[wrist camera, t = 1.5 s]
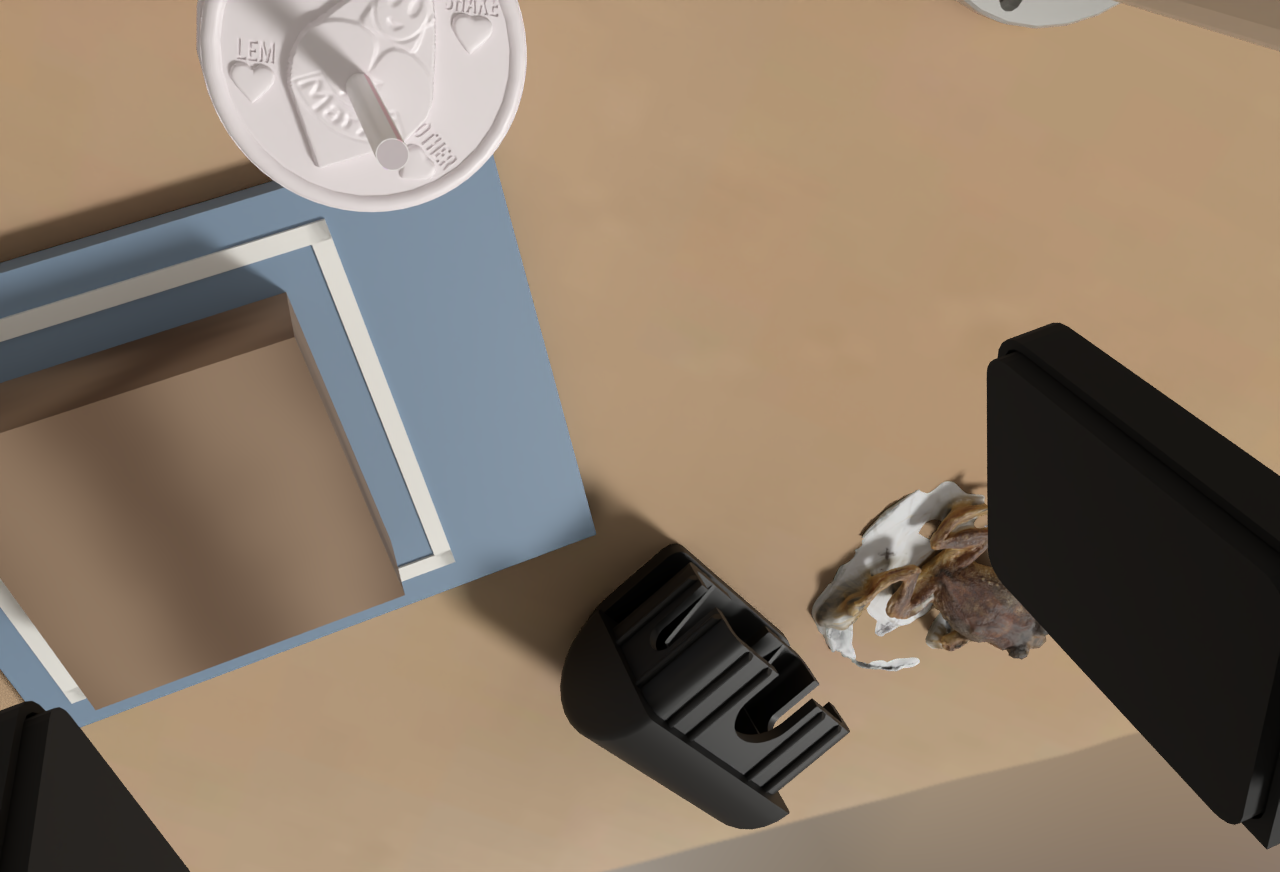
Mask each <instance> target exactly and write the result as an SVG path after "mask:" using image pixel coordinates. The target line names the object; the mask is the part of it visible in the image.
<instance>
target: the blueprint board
mask: <svg viewBox="0 0 1280 872" xmlns="http://www.w3.org/2000/svg"><path fill="white" fill-rule="evenodd" d="M285 292H286V293H287V295H288V298H289V300H290V303H291V305H292V307H293V310H294V312H295V314H296V317H297V319H298V321H299V324H300V326H301V329H302V331H303V333H304V336H305V338H306V340H307V343H308V345H309V348H310V350H311V352H312V355H313V357H314V359H315V362H316V364H317V367H318V369H319V371H320V374H321V376H322V378H323V381H324V383H325V386H326V388H327V390H328V393H329V395H330V397H331V400H332V402H333V404H334V407H335V409H336V412H337V414H338V416H339V419H340V421H341V423H342V426H343V428H344V431H345V433H346V435H347V438H348V440H349V442H350V445H351V447H352V450H353V452H354V454H355V457H356V459H357V461H358V464H359V466H360V469H361V471H362V473H363V476H364V478H365V480H366V483H367V485H368V488H369V490H370V492H371V495H372V497H373V499H374V502H375V504H376V506H377V509H378V511H379V514H380V516H381V518H382V521H383V523H384V525H385V528H386V530H387V533H388V535H389V537H390V540H391V543H392V547H393V550H394V554H395V558H396V562H397V566H398V570H399V574H400V578H401V581H402V585H403V589H404V593H405V595H404V596H402V597H399V598H396V599H393V600H391V601H388V602H385V603H383V604H380V605H377V606H375V607H372V608H369V609H367V610H364V611H361V612H359V613H356V614H353V615H350V616H348V617H345V618H342V619H340V620H337V621H334V622H332V623H329V624H326V625H324V626H321V627H318V628H316V629H313V630H310V631H308V632H305V633H302V634H299V635H297V636H294V637H291V638H289V639H286V640H283V641H281V642H278V643H275V644H273V645H270V646H267V647H265V648H262V649H259V650H256V651H254V652H251V653H248V654H246V655H243V656H240V657H238V658H235V659H232V660H230V661H227V662H224V663H222V664H219V665H216V666H214V667H211V668H208V669H205V670H203V671H200V672H197V673H195V674H192V675H189V676H187V677H184V678H181V679H179V680H176V681H173V682H171V683H168V684H165V685H163V686H160V687H157V688H154V689H152V690H149V691H146V692H144V693H141V694H138V695H136V696H133V697H130V698H128V699H125V700H122V701H120V702H117V703H114V704H111V705H109V706H106V707H103V708H101V709H98V710H95V709H94V707H93V706H92V705H91V703H90V702H89V701H88V699H87V698H86V696H85V695H84V694H83V692H82V691H81V689H80V688H79V687H78V685H77V684H76V683H75V681H74V680H73V678H72V677H71V676H70V674H69V673H68V671H67V670H66V669H65V667H64V666H63V665H62V663H61V662H60V660H59V659H58V658H57V656H56V655H55V653H54V652H53V651H52V649H51V648H50V647H49V645H48V644H47V642H46V641H45V640H44V638H43V637H42V635H41V634H40V633H39V631H38V630H37V629H36V627H35V626H34V624H33V623H32V622H31V620H30V619H29V617H28V616H27V615H26V613H25V612H24V611H23V609H22V608H21V606H20V605H19V604H18V602H17V601H16V599H15V598H14V597H13V595H12V594H11V593H10V591H9V590H8V588H7V587H6V586H5V584H4V583H3V581H2V580H1V579H0V669H1V671H2V672H3V673H4V675H5V676H6V677H7V678H8V680H9V681H10V682H11V684H12V685H13V686H14V688H15V689H16V690H17V691H18V693H19V694H20V695H21V697H22V698H23V699H24V700H25V701H34V702H36V703H38V704H40V705H41V707H42V708H43V709H44V710H45V711H48V710H50V709H53V708H57V707H60V708H62V709H64V710H66V711H67V712H68V713H69V715H70V716H71V717H72V718H73V719H74V721H75V722H76V723H77V725H78V726H79V727H83V726H85V725H88V724H91V723H94V722H96V721H99V720H102V719H104V718H107V717H110V716H112V715H115V714H118V713H120V712H123V711H126V710H128V709H131V708H134V707H136V706H139V705H142V704H144V703H147V702H150V701H152V700H155V699H158V698H160V697H163V696H166V695H168V694H171V693H174V692H176V691H179V690H182V689H184V688H187V687H190V686H192V685H195V684H198V683H200V682H203V681H206V680H208V679H211V678H214V677H216V676H219V675H222V674H224V673H227V672H230V671H233V670H235V669H238V668H241V667H243V666H246V665H249V664H251V663H254V662H257V661H259V660H262V659H265V658H267V657H270V656H273V655H275V654H278V653H281V652H283V651H286V650H289V649H291V648H294V647H297V646H299V645H302V644H305V643H307V642H310V641H313V640H315V639H318V638H321V637H323V636H326V635H329V634H331V633H334V632H337V631H339V630H342V629H345V628H347V627H350V626H353V625H355V624H358V623H361V622H364V621H366V620H369V619H372V618H374V617H377V616H380V615H382V614H385V613H388V612H390V611H393V610H396V609H398V608H401V607H404V606H406V605H409V604H412V603H414V602H417V601H420V600H422V599H425V598H428V597H430V596H433V595H436V594H438V593H441V592H444V591H446V590H449V589H452V588H454V587H457V586H460V585H462V584H465V583H468V582H470V581H473V580H476V579H478V578H481V577H484V576H486V575H489V574H492V573H494V572H497V571H500V570H503V569H505V568H508V567H511V566H513V565H516V564H519V563H521V562H524V561H527V560H529V559H532V558H535V557H537V556H540V555H543V554H545V553H548V552H551V551H553V550H556V549H559V548H561V547H564V546H567V545H569V544H572V543H575V542H577V541H580V540H583V539H585V538H588V537H591V536H593V535H596V531H595V527H594V524H593V520H592V516H591V513H590V509H589V505H588V502H587V498H586V494H585V491H584V487H583V483H582V480H581V476H580V472H579V469H578V465H577V461H576V458H575V454H574V450H573V447H572V443H571V439H570V436H569V432H568V428H567V425H566V421H565V417H564V414H563V410H562V406H561V403H560V399H559V395H558V392H557V388H556V384H555V381H554V377H553V373H552V370H551V366H550V362H549V359H548V355H547V351H546V348H545V344H544V340H543V337H542V333H541V329H540V326H539V322H538V318H537V315H536V311H535V307H534V304H533V300H532V296H531V293H530V289H529V285H528V282H527V278H526V274H525V271H524V267H523V263H522V260H521V256H520V252H519V249H518V245H517V241H516V238H515V234H514V230H513V227H512V223H511V219H510V216H509V212H508V208H507V205H506V201H505V197H504V194H503V190H502V186H501V183H500V179H499V175H498V172H497V168H496V164H495V161H494V157H493V154H492V156H491V157H490V158H489V159H488V160H487V161H486V162H485V164H484V165H483V166H482V167H481V168H480V169H479V170H478V171H477V172H475V173H474V174H473V175H472V176H471V177H470V178H469V179H467V180H466V181H464V182H463V183H462V184H460V185H459V186H458V187H456V188H454V189H453V190H451V191H449V192H447V193H446V194H444V195H442V196H440V197H438V198H435V199H433V200H431V201H428V202H425V203H423V204H420V205H417V206H413V207H409V208H405V209H400V210H393V211H384V212H357V211H349V210H342V209H338V208H333V207H329V206H325V205H322V204H319V203H316V202H313V201H311V200H308V199H306V198H304V197H301V196H299V195H297V194H295V193H293V192H291V191H290V190H288V189H286V188H284V187H283V186H281V185H280V184H278V183H277V182H275V181H271V182H268V183H264V184H261V185H258V186H255V187H251V188H248V189H245V190H241V191H238V192H235V193H231V194H228V195H225V196H221V197H218V198H215V199H211V200H208V201H205V202H201V203H198V204H195V205H191V206H188V207H185V208H181V209H178V210H175V211H171V212H168V213H165V214H161V215H158V216H155V217H152V218H148V219H145V220H142V221H138V222H135V223H132V224H128V225H125V226H122V227H118V228H115V229H112V230H108V231H105V232H102V233H98V234H95V235H92V236H88V237H85V238H82V239H78V240H75V241H72V242H68V243H65V244H62V245H58V246H55V247H52V248H49V249H45V250H42V251H39V252H35V253H32V254H29V255H25V256H22V257H19V258H15V259H12V260H9V261H5V262H2V263H0V383H2V382H5V381H8V380H12V379H15V378H18V377H21V376H24V375H27V374H30V373H34V372H37V371H40V370H43V369H46V368H49V367H52V366H55V365H59V364H62V363H65V362H68V361H71V360H74V359H77V358H81V357H84V356H87V355H90V354H93V353H96V352H99V351H103V350H106V349H109V348H112V347H115V346H118V345H121V344H125V343H128V342H131V341H134V340H137V339H140V338H143V337H146V336H150V335H153V334H156V333H159V332H162V331H165V330H168V329H172V328H175V327H178V326H181V325H184V324H187V323H190V322H194V321H197V320H200V319H203V318H206V317H209V316H212V315H216V314H219V313H222V312H225V311H228V310H231V309H234V308H237V307H241V306H244V305H247V304H250V303H253V302H256V301H259V300H263V299H266V298H269V297H272V296H275V295H278V294H281V293H285Z"/></svg>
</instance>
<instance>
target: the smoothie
mask: <svg viewBox="0 0 1280 872" xmlns="http://www.w3.org/2000/svg"><path fill="white" fill-rule="evenodd" d="M197 53H198V57H199V61H200V64H201V68H202V72H203V76H204V79H205V83H206V87H207V91H208V94H209V96H210V98H211V101H212V103H213V106H214V108H215V110H216V112H217V114H218V116H219V118H220V120H221V122H222V124H223V125H224V127H225V129H226V130H227V132H228V134H229V135H230V137H231V138H232V139H233V141H234V142H235V143H236V145H237V146H238V147H239V149H240V150H241V151H242V152H243V153H244V154H245V155H246V157H247V158H248V159H249V160H250V161H251V162H252V163H253V164H254V165H255V166H257V167H258V168H259V169H260V170H261V171H262V172H263V173H265V174H266V175H267V176H268V177H270V178H271V179H272V180H274V181H275V182H277V183H278V184H280V185H281V186H283V187H284V188H286V189H288V190H290V191H291V192H293V193H295V194H297V195H299V196H301V197H304V198H306V199H308V200H311V201H313V202H316V203H319V204H322V205H325V206H329V207H333V208H338V209H342V210H349V211H357V212H384V211H393V210H400V209H405V208H409V207H413V206H417V205H420V204H423V203H425V202H428V201H431V200H433V199H435V198H438V197H440V196H442V195H444V194H446V193H447V192H449V191H451V190H453V189H454V188H456V187H458V186H459V185H460V184H462V183H463V182H464V181H466V180H467V179H469V178H470V177H471V176H472V175H473V174H474V173H475V172H477V171H478V170H479V169H480V168H481V167H482V166H483V165H484V164H485V162H486V161H487V160H488V159H489V158H490V157H491V156H492V154H493V153H494V152H495V150H496V149H497V148H498V146H499V145H500V143H501V142H502V140H503V139H504V137H505V135H506V134H507V132H508V130H509V128H510V126H511V124H512V122H513V119H514V117H515V114H516V112H517V109H518V106H519V103H520V100H521V96H522V92H523V87H524V82H525V74H526V64H527V47H526V36H525V29H524V24H523V18H522V14H521V11H520V7H519V4H518V1H517V0H198V2H197Z"/></svg>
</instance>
